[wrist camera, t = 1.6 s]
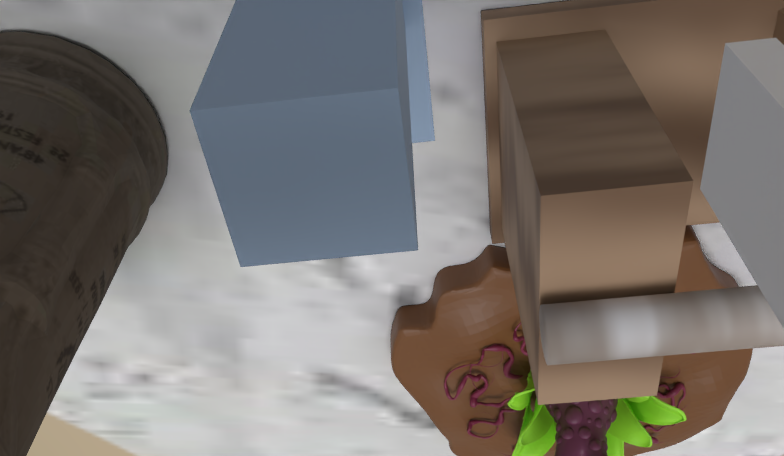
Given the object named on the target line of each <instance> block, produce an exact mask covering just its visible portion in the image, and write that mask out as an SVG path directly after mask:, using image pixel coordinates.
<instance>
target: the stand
mask: <svg viewBox="0 0 784 456" xmlns="http://www.w3.org/2000/svg"><path fill="white" fill-rule="evenodd" d="M481 25H482V49H483V72H484V96H485V120H486V144H487V168H488V191H489V215H490V233H491V239H492V244H496V243H505V246H506V251H507V256H508V261H509V265H510V270H511V275H512V280H513V285H514V290H515V295H516V300H517V305H518V309H519V314H520V319H521V324H522V329H523V334H524V339H525V344H526V349H527V353H528V358H529V363H530V368H531V373H532V378H533V383H534V388H535V393H536V397H537V402H538V405H545V404H557V403H570V402H582V401H595V400H607V399H620V398H632V397H645V396H657V392H658V386H659V380H660V375H661V369H662V363H663V357H664V356H666V355H678V354H690V353H702V352H714V351H726V350H738V349H750V348H762V347H774V346H784V329H783V327H782V325H781V324H780V322H779V320H778V319H777V317H776V315H775V314H774V312H773V310H772V309H771V307H770V305H769V304H768V302H767V300H766V299H765V297H764V295H763V294H762V292H761V290H760V288H759V287H758V285H757V286H745V287H734V288H723V289H712V290H700V291H689V292H678V293H675V287H676V281H677V275H678V269H679V263H680V257H681V251H682V246H683V240H684V234H685V228H686V225H696V224H707V223H717V222H720V221H719V220H718V218H717V216H716V215H715V213H714V211H713V210H712V208H711V206H710V205H709V203H708V201H707V200H706V198H705V196H704V195H703V193H702V191H701V190H700V186H701V180H702V174H703V169H704V163H705V157H706V151H707V146H708V140H709V134H710V128H711V122H712V117H713V111H714V105H715V99H716V93H717V88H718V82H719V76H720V70H721V64H722V59H723V53H724V47H725V43H732V42H741V41H750V40H759V39H768V38H777V39H778V40H779V41H780V42H781V43H782V44H783V45H784V0H570V1H561V2H553V3H544V4H535V5H527V6H518V7H509V8H501V9H492V10H483V11H481Z"/></svg>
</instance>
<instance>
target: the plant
mask: <svg viewBox="0 0 784 456" xmlns="http://www.w3.org/2000/svg"><path fill="white" fill-rule="evenodd" d="M734 287H738V285H737V283H736V281H735V280H734V278H733V277H732V276H730V275H729V274H727V273H726V272H724V271H722V270H720V269H718V268H717V267H715V266H714V265H712V264H711V263H710V262H709V261H708V260H707V258H706V257H705V255H704V254H703V252H702V249H701V246H700V243H699V240H698V238H697V236H696V234H695V232H694V230H693V228H692V226H691V225H686V228H685V234H684V240H683V246H682V251H681V257H680V263H679V269H678V275H677V281H676V287H675V293H678V292H689V291H700V290H712V289H723V288H734ZM752 350H753V348H750V349H738V350H726V351H714V352H702V353H690V354H678V355H666V356H664V357H663V363H662V369H661V375H660V380H659V386H658V392H657V396H645V397H632V398H620V399H607V400H595V401H582V402H570V403H557V404H545V405H538V402H537V397H536V393H535V388H534V383H533V378H532V373H531V368H530V363H529V358H528V353H527V349H526V344H525V339H524V334H523V329H522V324H521V319H520V314H519V309H518V305H517V300H516V295H515V290H514V285H513V280H512V275H511V270H510V265H509V261H508V256H507V251H506V248H503V247H497V246H493V245H489V246H487V247H486V248H485V250H484V251H483V252H482V254H481V255H480V256H479V257H478V258H476V259H475V260H473V261H471V262H469V263H466V264H461V265H454V266H449V267H446V268H443V269H442V270H440V271H439V272H438V274H437V276H436V278H435V282H434V287H433V293H432V296H431V298H430V299H429V301H427V302H426V303H424V304H418V305H407V306H402V307H400V308H399V309H398V311H397V313H396V315H395V318H394V321H393V324H392V330H391V363H392V368H393V372H394V374H395V376H396V377H397V379H398V380H399V381H400V383H401V384H402V385H403V386H404V387H405V389H406V390H407V391H408V392H409V393H410V394H411V395H412V397H413V398H414V399H415V400H416V401H417V402H418V403H419V405H420V406H421V407H422V408H423V409H424V410H425V412H426V413H427V414H428V416H429V417H430V418H431V420H432V421H433V423H434V424H435V425H436V427H437V428H438V429H439V430H440V432H441V433H442V434H443V435H444V436H445V437H446V438H447V439H448V441H449V446H450V449H451V451H452V452H453V453H454V454H455V455H457V456H634V455H637V454H641V453H645V452H649V451H654V450H658V449H662V448H666V447H669V446H672V445H675V444H677V443H679V442H682V441H684V440H686V439H688V438H690V437H692V436H694V435H695V434H697V433H699V432H701V431H703V430H704V429H706V428H708V427H710V426H712V425H714V424H716V423H717V422H719V421H720V420H721V419H722V416H723V414H724V412H725V410H726V408H727V406H728V404H729V402H730V400H731V399H732V397H733V396H734V394H735V392H736V390H737V389H738V387H739V386H740V384H741V383H742V381H743V380H744V378H745V376H746V373H747V371H748V368H749V364H750V360H751V356H752Z"/></svg>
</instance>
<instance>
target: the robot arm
mask: <svg viewBox="0 0 784 456" xmlns="http://www.w3.org/2000/svg"><path fill="white" fill-rule="evenodd" d="M700 190H701V191H702V193H703V195H704V196H705V198H706V200H707V201H708V203H709V205H710V206H711V208H712V210H713V211H714V213H715V215H716V216H717V218H718V220H719V221H720V223H721V225H722V226H723V228H724V230H725V231H726V233H727V235H728V236H729V238H730V240H731V242H732V243H733V245H734V247H735V248H736V250H737V252H738V253H739V255H740V257H741V258H742V260H743V262H744V263H745V265H746V267H747V268H748V270H749V272H750V273H751V275H752V277H753V278H754V280H755V282H756V283H757V285H758V287H759V288H760V290H761V292H762V294H763V295H764V297H765V299H766V300H767V302H768V304H769V305H770V307H771V309H772V310H773V312H774V314H775V315H776V317H777V319H778V320H779V322H780V324H781V325H782V327H783V329H784V45H783V44H782V43H781V42H780V41H779V40H778V39H777V38H768V39H759V40H750V41H741V42H732V43H725V47H724V53H723V59H722V64H721V70H720V76H719V82H718V88H717V93H716V99H715V105H714V111H713V117H712V122H711V128H710V134H709V140H708V146H707V151H706V157H705V163H704V169H703V174H702V180H701V186H700Z"/></svg>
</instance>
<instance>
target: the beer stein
mask: <svg viewBox="0 0 784 456" xmlns="http://www.w3.org/2000/svg"><path fill="white" fill-rule="evenodd" d="M167 160H168V155H167V148H166V142H165V136H164V133H163V131H162V129H161V126H160V124H159V121H158V119H157V116H156V114H155V111H154V110H153V108H152V107H151V105H150V104H149V102H148V101H147V99H146V98H145V97H144V95H143V94H142V92H141V91H140V90H139V88H138V87H137V86H136V85H135V84H134V83H133V82H132V81H131V80H130V79H129V78H128V77H126V76H125V75H124V74H123V73H122V72H121V71H119V70H118V69H117V68H116V67H115V66H113V65H112V64H111V63H110V62H108V61H107V60H105V59H103V58H102V57H100V56H98V55H96V54H95V53H93V52H91V51H90V50H88V49H85V48H83V47H80V46H78V45H75V44H72V43H70V42H67V41H65V40H62V39H60V38H57V37H54V36H48V35H41V34H34V33H27V32H20V31H16V32H3V33H0V456H26V455H27V453H28V451H29V449H30V447H31V445H32V442H33V440H34V438H35V436H36V434H37V432H38V430H39V428H40V425H41V423H42V421H43V419H44V417H45V415H46V413H47V411H48V409H49V406H50V404H51V402H52V400H53V398H54V396H55V394H56V392H57V390H58V388H59V386H60V384H61V382H62V380H63V378H64V376H65V374H66V372H67V370H68V368H69V366H70V364H71V362H72V360H73V357H74V355H75V353H76V351H77V350H78V348H79V346H80V344H81V342H82V340H83V338H84V336H85V334H86V332H87V330H88V328H89V326H90V324H91V322H92V320H93V318H94V316H95V314H96V312H97V310H98V308H99V306H100V304H101V302H102V300H103V298H104V296H105V294H106V292H107V290H108V288H109V286H110V284H111V281H112V279H113V277H114V275H115V273H116V271H117V269H118V267H119V265H120V263H121V261H122V258H123V256H124V254H125V252H126V250H127V248H128V246H129V245H130V244H131V243H132V242H133V241H134V239H135V238H136V237H137V236H138V235H139V233H140V231H141V229H142V227H143V225H144V223H145V221H146V218H147V216H148V212H149V208H150V206H151V205H152V204H153V202H154V201H155V199H156V197H157V196H158V194H159V192H160V190H161V188H162V186H163V183H164V180H165V177H166V174H167Z"/></svg>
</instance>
